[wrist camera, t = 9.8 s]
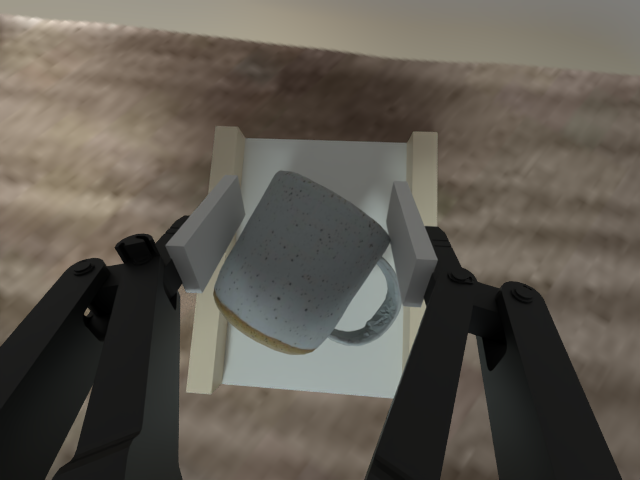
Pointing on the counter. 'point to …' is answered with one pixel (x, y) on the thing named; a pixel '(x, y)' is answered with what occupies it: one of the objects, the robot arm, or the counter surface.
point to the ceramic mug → (304, 269)
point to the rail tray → (395, 344)
